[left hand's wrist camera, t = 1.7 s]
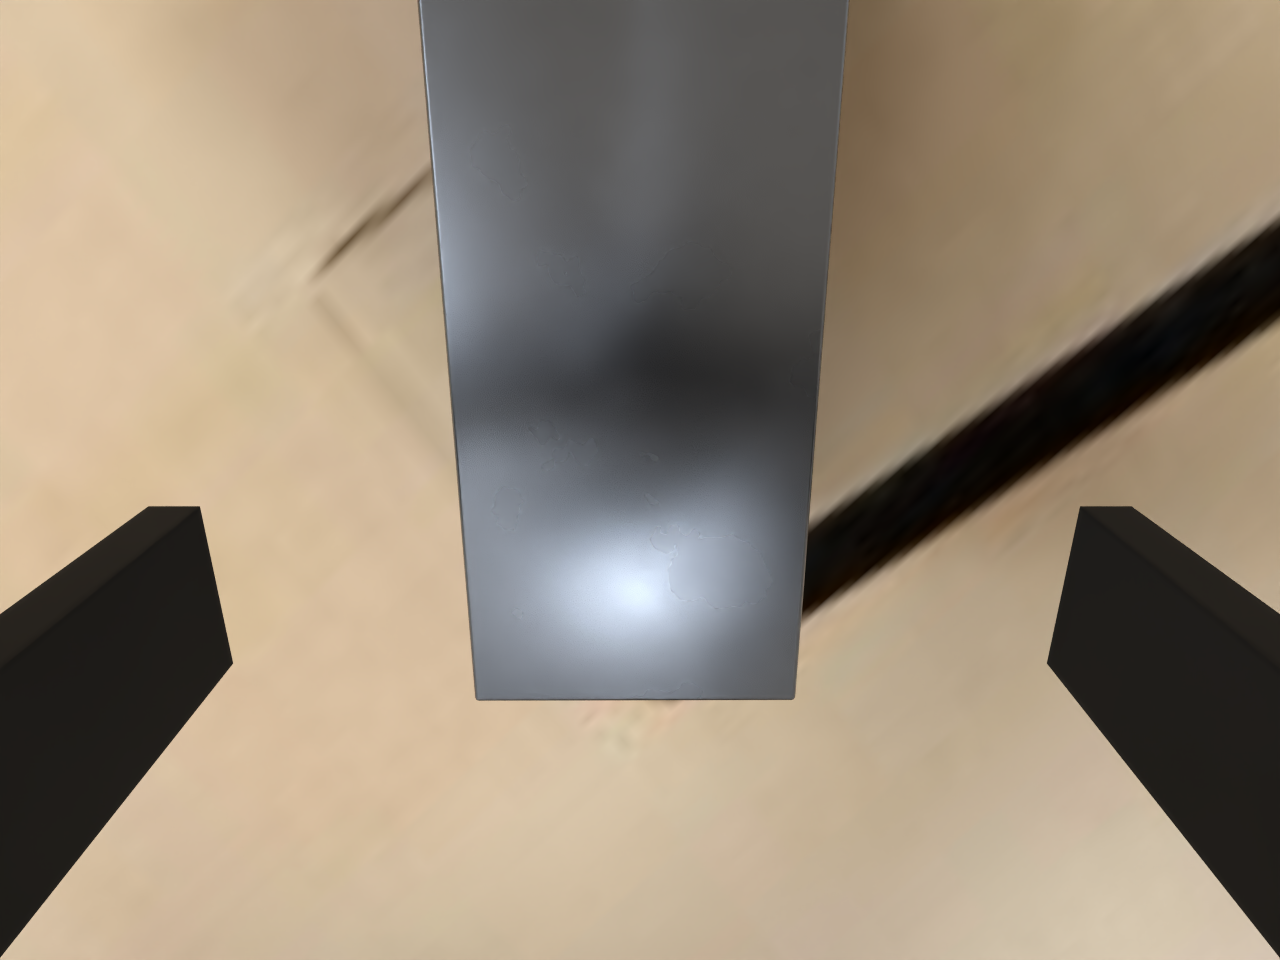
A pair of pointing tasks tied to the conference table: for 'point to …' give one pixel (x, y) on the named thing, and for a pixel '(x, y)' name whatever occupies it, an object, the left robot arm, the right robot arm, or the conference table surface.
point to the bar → (634, 332)
